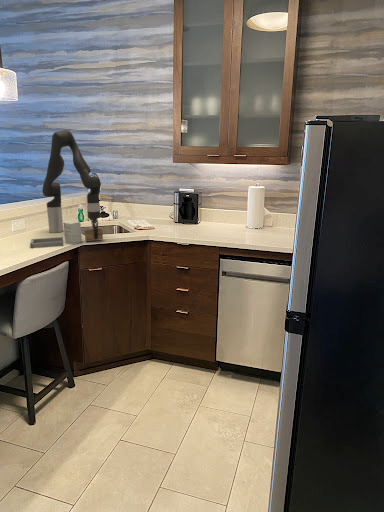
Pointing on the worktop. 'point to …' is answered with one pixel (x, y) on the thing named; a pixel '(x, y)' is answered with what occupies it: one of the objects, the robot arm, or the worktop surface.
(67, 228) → the supplement box
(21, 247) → the worktop surface
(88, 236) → the walnut block
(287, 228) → the worktop surface
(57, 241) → the tray
